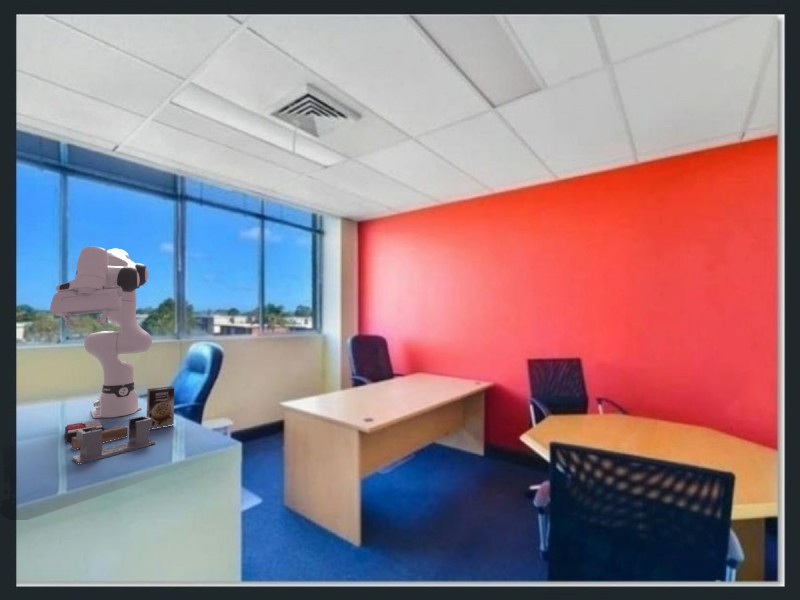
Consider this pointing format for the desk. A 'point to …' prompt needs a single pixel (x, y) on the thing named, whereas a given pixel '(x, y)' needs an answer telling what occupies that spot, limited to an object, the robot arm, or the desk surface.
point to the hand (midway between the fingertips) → (84, 324)
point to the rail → (106, 435)
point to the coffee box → (160, 406)
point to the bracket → (93, 445)
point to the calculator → (72, 429)
